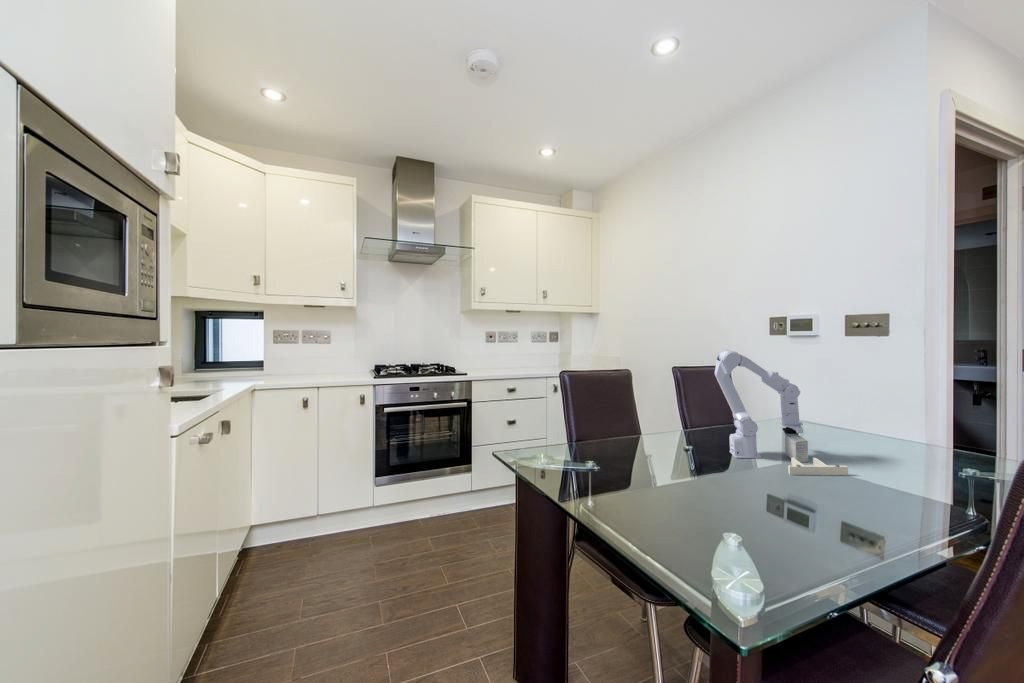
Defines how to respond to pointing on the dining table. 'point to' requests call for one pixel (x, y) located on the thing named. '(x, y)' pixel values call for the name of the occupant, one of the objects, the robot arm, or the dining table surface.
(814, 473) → the dock
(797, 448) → the medicine box
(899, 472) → the dining table surface
